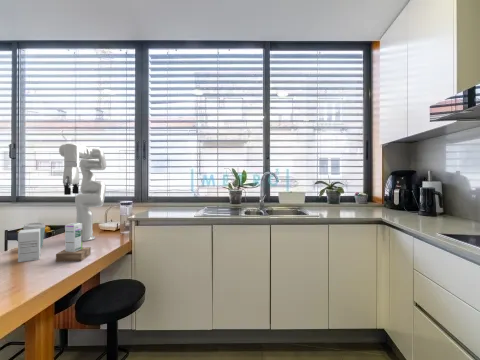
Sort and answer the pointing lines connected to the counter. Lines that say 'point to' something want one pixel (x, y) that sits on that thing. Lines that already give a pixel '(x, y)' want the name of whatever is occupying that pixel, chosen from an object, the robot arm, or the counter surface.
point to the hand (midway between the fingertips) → (71, 194)
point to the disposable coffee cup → (36, 226)
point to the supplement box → (28, 245)
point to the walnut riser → (73, 255)
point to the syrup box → (73, 237)
